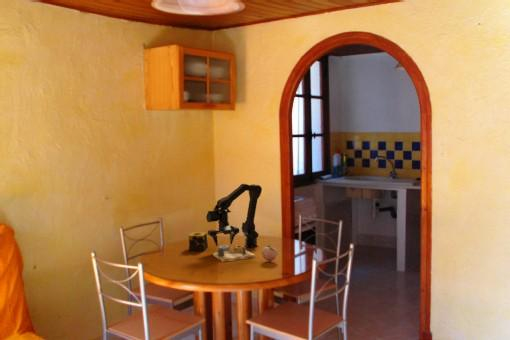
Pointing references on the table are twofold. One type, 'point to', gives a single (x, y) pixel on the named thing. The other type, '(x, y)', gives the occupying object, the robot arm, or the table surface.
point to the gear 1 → (224, 247)
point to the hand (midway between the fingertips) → (224, 245)
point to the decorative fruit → (269, 253)
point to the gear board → (232, 255)
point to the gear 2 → (238, 249)
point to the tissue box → (198, 241)
